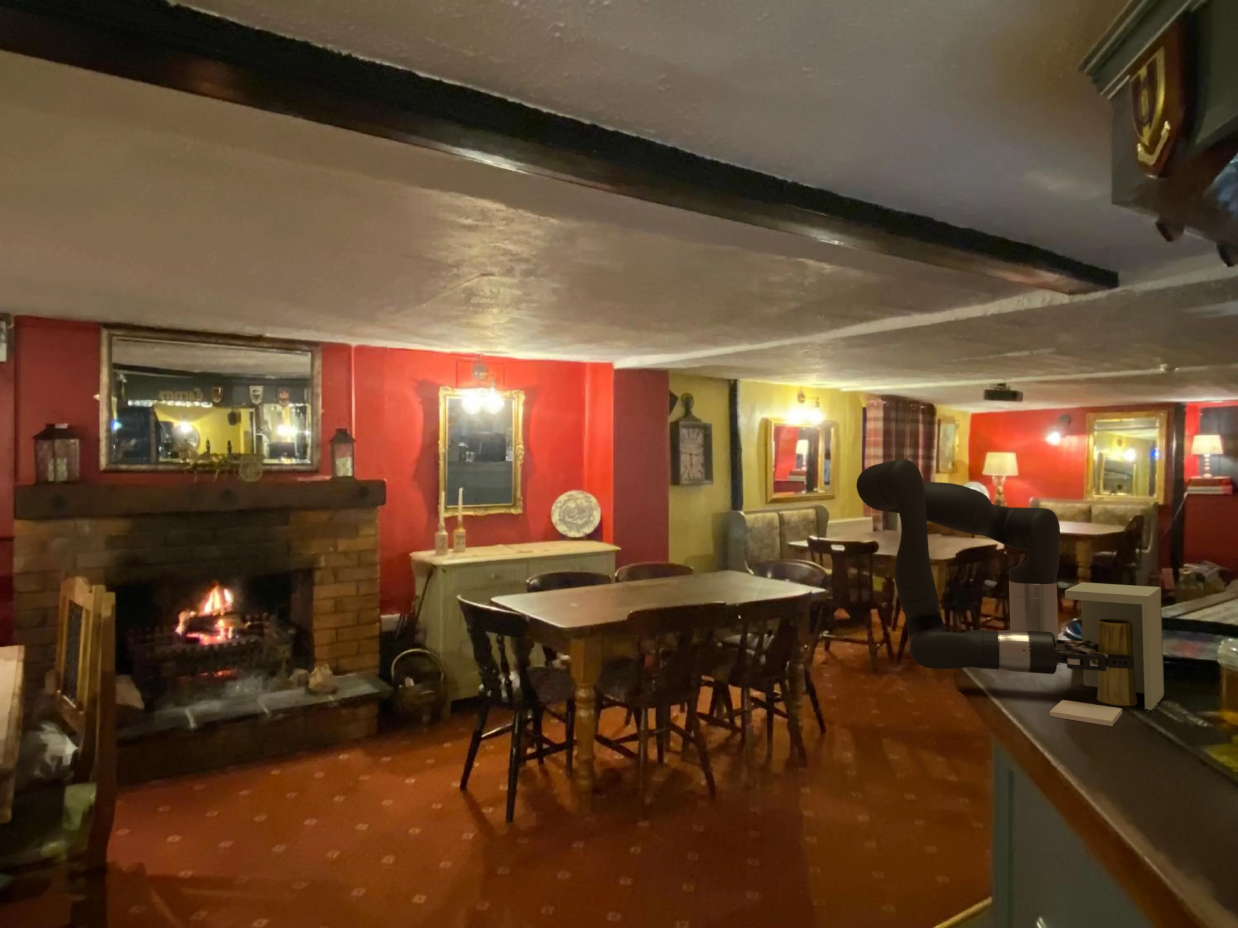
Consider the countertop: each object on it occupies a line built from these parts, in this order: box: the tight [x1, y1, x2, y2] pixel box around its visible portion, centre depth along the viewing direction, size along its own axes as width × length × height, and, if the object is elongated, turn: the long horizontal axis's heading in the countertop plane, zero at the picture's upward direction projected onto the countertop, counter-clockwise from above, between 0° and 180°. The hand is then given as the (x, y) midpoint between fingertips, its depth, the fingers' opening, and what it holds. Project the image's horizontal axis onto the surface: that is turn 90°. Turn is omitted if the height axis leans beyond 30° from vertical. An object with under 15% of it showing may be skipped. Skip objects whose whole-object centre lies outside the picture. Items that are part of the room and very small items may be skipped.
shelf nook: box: [1064, 581, 1165, 710], centre depth 146 cm, size 14×13×20 cm
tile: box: [1049, 699, 1123, 727], centre depth 135 cm, size 9×9×1 cm
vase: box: [1096, 619, 1138, 707], centre depth 143 cm, size 6×6×14 cm
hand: (1127, 656), depth 142 cm, fingers open, 8 cm apart
